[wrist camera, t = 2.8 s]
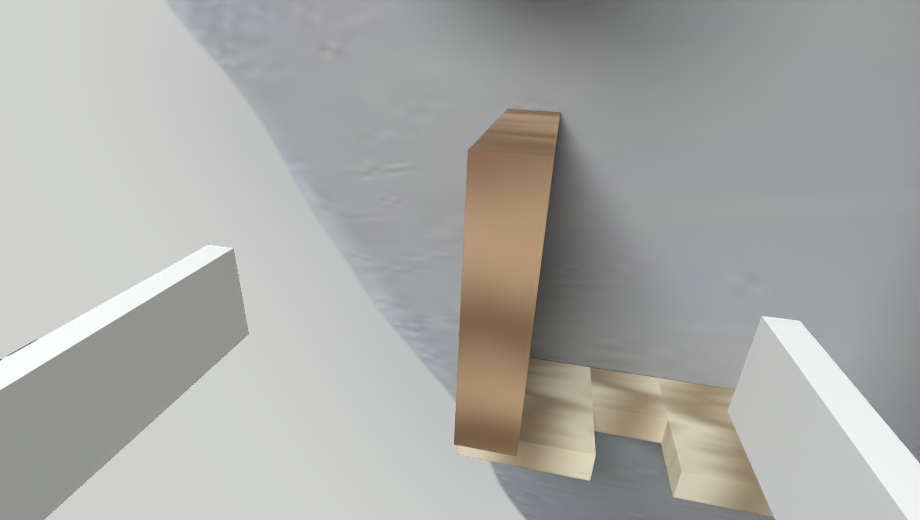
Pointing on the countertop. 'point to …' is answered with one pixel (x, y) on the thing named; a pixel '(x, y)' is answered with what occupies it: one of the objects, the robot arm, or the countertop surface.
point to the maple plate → (634, 430)
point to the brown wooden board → (502, 274)
